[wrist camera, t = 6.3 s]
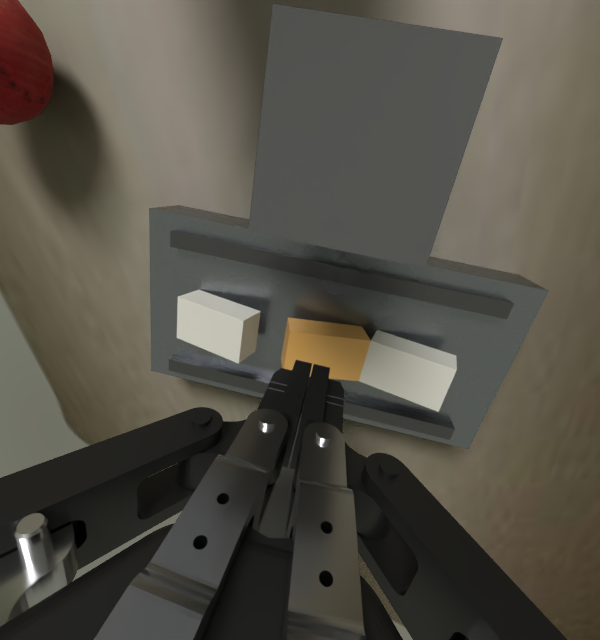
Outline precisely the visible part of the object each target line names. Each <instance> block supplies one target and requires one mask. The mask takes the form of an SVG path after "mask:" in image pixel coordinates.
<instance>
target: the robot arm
mask: <svg viewBox="0 0 600 640" xmlns="http://www.w3.org/2000/svg"><path fill="white" fill-rule="evenodd" d="M311 367H312V363H309V362H304V361H300V360H296V361H295V363H294V366H293V369H292V370H288V369H284V368H280V369H279V370H278V371H276V372H275V373H274V374H273V376H272V378H271V380H270V383H269V385H268V387H267V389H266V392H265V394H264V396H263V398H262V401H261V403H260V405H259V407H258V410H256V411H254V412H252V413H251V414H250V415H249V416H248V418H247V419H246V420H243V421H237V422H223V419H222V416H221V415H220V414H219V413H218V412H217V411H215V410H213V409H210V408H205V407H199V408H193V409H190V410H187V411H185V412H182V413H179V414H176V415H173V416H171V417H168V418H165V419H162V420H160V421H157V422H154V423H151V424H149V425H146V426H143V427H140V428H138V429H135V430H132V431H129V432H126V433H124V434H121V435H118V436H115V437H113V438H110V439H107V440H104V441H102V442H99V443H96V444H93V445H90V446H88V447H85V448H82V449H79V450H77V451H74V452H71V453H68V454H66V455H63V456H60V457H57V458H54V459H52V460H49V461H46V462H44V463H41V464H38V465H35V466H33V467H30V468H27V469H24V470H22V471H19V472H16V473H13V474H11V475H7V476H5V477H2V478H0V640H403V639H402V637H401V636H400V634H399V632H398V630H397V629H396V627H395V625H394V623H393V622H392V620H391V618H390V617H389V615H388V613H387V611H386V610H385V608H384V606H383V604H382V603H381V601H380V599H379V598H378V596H377V595H376V593H375V592H374V590H373V589H372V588H371V586H370V585H369V584H368V583H367V582H366V581H365V580H364V578H363V577H361V576H360V571H359V558H358V552H359V554H360V556H361V557H362V559H363V560H364V562H365V563H366V565H367V567H368V568H369V570H370V571H371V573H372V575H373V576H374V578H375V579H376V581H377V583H378V584H379V586H380V587H381V589H382V591H383V592H384V594H385V595H386V597H387V599H388V600H389V602H390V603H391V605H392V607H393V608H394V610H395V611H396V613H397V615H398V616H399V618H400V619H401V621H402V623H403V624H404V626H405V627H406V629H407V630H408V632H409V634H410V635H411V637H412V639H413V640H567V639H566V638H565V637H564V636H563V635H562V633H561V632H560V631H559V630H558V629H557V628H556V627H555V626H554V625H553V624H552V623H551V622H550V621H549V620H548V618H547V617H546V616H545V615H544V614H543V613H542V612H541V611H540V610H539V609H538V608H537V607H536V606H535V605H534V603H533V602H532V601H531V600H530V599H529V598H528V597H527V596H526V595H525V594H524V593H523V592H522V591H521V590H520V588H519V587H518V586H517V585H516V584H515V583H514V582H513V581H512V580H511V579H510V578H509V577H508V576H507V574H506V573H505V572H504V571H503V570H502V569H501V568H500V567H499V566H498V565H497V564H496V563H495V562H494V561H493V559H492V558H491V557H490V556H489V555H488V554H487V553H486V552H485V551H484V550H483V549H482V548H481V547H480V546H479V544H478V543H477V542H476V541H475V540H474V539H473V538H472V537H471V536H470V535H469V534H468V533H467V532H466V531H465V529H464V528H463V527H462V526H461V525H460V524H459V523H458V522H457V521H456V520H455V519H454V518H453V517H452V516H451V514H450V513H449V512H448V511H447V510H446V509H445V508H444V507H443V506H442V505H441V504H440V503H439V502H438V501H437V499H436V498H435V497H434V496H433V495H432V494H431V493H430V492H429V491H428V490H427V489H426V488H425V487H424V486H423V484H422V483H421V482H420V481H419V480H418V479H417V478H416V477H415V476H414V475H413V474H412V473H411V472H410V470H409V469H408V468H407V467H406V466H405V465H404V464H403V463H402V462H401V461H399V460H398V459H397V458H395V457H393V456H391V455H388V454H384V453H375V454H372V455H370V456H369V457H368V458H366V457H364V456H362V455H360V454H358V453H357V452H355V451H354V450H352V449H351V448H350V447H349V446H348V445H347V444H346V442H345V440H344V436H343V434H342V424H343V406H344V388H343V387H342V385H341V383H340V382H338V381H334V380H330V379H329V373H330V367H326V366H321V365H317V364H314V365H313V369H312V373H311V377H310V381H309V376H310V372H311ZM308 381H309V386H308V390H307V385H308ZM306 390H307V394H306ZM305 394H306V398H305ZM304 399H305V402H304ZM303 403H304V406H303ZM302 407H303V410H302ZM301 411H302V415H301ZM300 416H301V419H300ZM299 420H300V423H299ZM298 424H299V428H298ZM297 428H298V432H297ZM296 432H297V437H296V441H295V446H294V450H293V455H292V459H291V464H290V468H291V469H295V471H294V476H293V481H292V485H291V489H290V496H289V504H288V512H287V519H286V527H285V535H284V538H269V537H266V536H264V535H263V534H261V533H259V530H260V527H261V524H262V522H263V519H264V516H265V514H266V511H267V508H268V505H269V503H270V500H271V497H272V494H273V492H274V489H275V486H276V482H277V479H278V478H279V476H280V472H281V469H282V466H283V467H287V468H288V465H289V461H290V456H291V452H292V448H293V444H294V440H295V436H296ZM176 463H177V464H176ZM174 464H175V465H174ZM172 465H173V466H172ZM170 466H171V467H170ZM168 467H169V468H168ZM166 468H167V469H166ZM163 469H165V470H163ZM161 470H163V471H161ZM159 471H160V472H159ZM157 472H158V473H157ZM155 473H156V474H155ZM153 474H154V475H153ZM151 475H152V476H151ZM149 476H150V477H149ZM147 477H148V478H147ZM180 511H182V512H181V514H180V515H179V517H178V518H177V520H176V522H175V523H174V524H171V525H168V526H165V527H163V528H161V529H158V530H156V531H154V532H153V533H151V534H149V535H147V536H146V537H144V538H143V539H141V540H139V541H138V542H136V543H134V544H133V545H131V546H129V547H128V548H126V549H125V550H123V551H121V552H120V553H118V554H116V555H115V556H113V557H112V558H110V559H109V560H107V561H105V562H104V563H102V564H100V565H99V566H97V567H95V568H94V569H92V570H91V571H89V572H87V573H86V574H84V575H82V576H81V577H79V578H78V579H76V580H74V581H73V579H74V577H75V575H76V573H77V570H78V569H80V568H82V567H84V566H86V565H88V564H89V563H91V562H93V561H95V560H96V559H98V558H100V557H101V556H103V555H105V554H107V553H109V552H110V551H112V550H114V549H115V548H117V547H119V546H121V545H122V544H124V543H126V542H128V541H129V540H131V539H133V538H135V537H136V536H138V535H140V534H142V533H143V532H145V531H147V530H149V529H151V528H152V527H154V526H156V525H158V524H159V523H161V522H163V521H165V520H166V519H168V518H170V517H172V516H173V515H175V514H177V513H179V512H180ZM72 581H73V582H72Z"/></svg>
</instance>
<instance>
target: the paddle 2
mask: <svg viewBox="0 0 600 640" xmlns="http://www.w3.org/2000/svg"><path fill="white" fill-rule="evenodd" d="M456 370H457V361H456V355H453V354H450V353H447V352H444V351H440V350H437V349H434V348H431V347H428V346H425V345H422V344H419V343H416V342H413V341H410V340H407V339H404V338H401V337H398V336H395V335H392V334H389V333H386V332H383V331H380V330H377V331H376V333H375V334H374V336H373V338H372V339H371V342H370V345H369V348H368V352H367V355H366V359H365V362H364V365H363V369H362V372H361V375H360V379H359V381H360V382H362V383H365V384H367V385H370V386H373V387H375V388H378V389H380V390H383V391H385V392H388V393H391V394H393V395H396V396H398V397H401V398H404V399H406V400H409V401H411V402H414V403H417V404H419V405H422V406H424V407H427V408H430V409H432V410H435V411H437V412H439V410H440V407H441V405H442V403H443V400H444V398H445V396H446V394H447V391H448V389H449V387H450V384H451V382H452V380H453V377H454V375H455V373H456Z"/></svg>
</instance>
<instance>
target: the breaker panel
mask: <svg viewBox="0 0 600 640" xmlns="http://www.w3.org/2000/svg"><path fill="white" fill-rule="evenodd" d="M149 218H150V300H151V371H155V372H159V373H163V374H167V375H171V376H175V377H179V378H183V379H187V380H191V381H195V382H199V383H203V384H207V385H212V386H216V387H220V388H224V389H228V390H232V391H236V392H240V393H244V394H248V395H252V396H256V397H260V398H263V396H264V394H265V392H266V389H267V387H268V385H269V383H270V380H271V378H272V376H273V374H274V373H275V372H276V371H278V370H279V369H280V368H282V364H281V354H282V349H283V343H284V337H285V331H286V326H287V320H288V318H296V319H305V320H313V321H322V322H330V323H338V324H347V325H355V326H362V327H363V329H364V330H365V332H366V334H367V335H368V337H369V338H370V340H371V339H372V338H373V336H374V334H375V333H376V331H377V330H380V331H383V332H386V333H389V334H392V335H395V336H398V337H401V338H404V339H407V340H410V341H413V342H416V343H419V344H422V345H425V346H428V347H431V348H434V349H437V350H440V351H444V352H447V353H450V354H453V355H456V361H457V370H456V373H455V375H454V377H453V380H452V382H451V384H450V387H449V389H448V391H447V394H446V396H445V398H444V400H443V403H442V405H441V407H440V410H439V412H437V411H435V410H432V409H430V408H427V407H424V406H422V405H419V404H417V403H414V402H411V401H409V400H406V399H404V398H401V397H398V396H396V395H393V394H391V393H388V392H385V391H383V390H380V389H378V388H375V387H373V386H370V385H367V384H365V383H362V382H360V381H351V380H340V379H330V380H334V381H338V382H340V383H341V385H342V387H343V388H344V406H343V418H344V419H348V420H352V421H356V422H360V423H364V424H368V425H372V426H376V427H380V428H385V429H389V430H393V431H397V432H401V433H405V434H409V435H413V436H417V437H421V438H425V439H429V440H433V441H437V442H441V443H445V444H449V445H453V446H457V447H461V448H465V449H468V448H469V446H470V444H471V442H472V440H473V438H474V437H475V435H476V433H477V431H478V429H479V427H480V425H481V423H482V421H483V419H484V417H485V415H486V413H487V411H488V409H489V407H490V405H491V403H492V401H493V399H494V397H495V395H496V393H497V391H498V389H499V387H500V386H501V384H502V382H503V380H504V378H505V376H506V374H507V372H508V370H509V368H510V366H511V364H512V362H513V360H514V358H515V356H516V354H517V352H518V350H519V348H520V346H521V344H522V342H523V340H524V338H525V336H526V335H527V333H528V331H529V329H530V327H531V325H532V323H533V321H534V319H535V317H536V315H537V313H538V311H539V309H540V307H541V305H542V303H543V301H544V299H545V297H546V295H547V293H548V290H546V289H544V288H543V287H541V286H539V285H537V284H535V283H533V282H531V281H530V280H528V279H526V278H524V277H522V276H520V275H517V274H512V273H507V272H502V271H497V270H492V269H487V268H482V267H478V266H473V265H468V264H463V263H458V262H453V261H448V260H443V259H438V258H434V257H429V259H428V262H427V264H426V267H425V268H422V267H417V266H412V265H408V264H403V263H398V262H393V261H388V260H384V259H379V258H374V257H369V256H364V255H359V254H355V253H350V252H345V251H340V250H335V249H331V248H326V247H321V246H316V245H311V244H306V243H302V242H297V241H292V240H287V239H282V238H277V237H273V236H268V235H263V234H258V233H253V232H249V231H248V229H249V220H248V219H243V218H238V217H233V216H228V215H223V214H218V213H213V212H209V211H204V210H199V209H194V208H189V207H184V206H179V205H177V206H167V207H157V208H149ZM196 290H201V291H204V292H207V293H210V294H213V295H216V296H218V297H221V298H224V299H227V300H230V301H233V302H236V303H238V304H241V305H244V306H247V307H250V308H253V309H256V310H258V311H261V313H260V321H259V328H258V335H257V343H256V350H255V352H254V353H252V354H251V355H250V356H248V357H247V358H246V359H244V360H243V361H242V362H240V363H239V364H238V363H236V362H233V361H231V360H229V359H226V358H224V357H221V356H219V355H217V354H214V353H212V352H209V351H207V350H205V349H202V348H200V347H198V346H195V345H193V344H190V343H188V342H186V341H183V340H181V339H178V338H177V304H178V296H181V295H184V294H187V293H190V292H193V291H196ZM309 381H310V377H309ZM309 381H308V385H307V390H308V386H309ZM307 390H306V394H307ZM306 394H305V398H306ZM304 402H305V399H304ZM303 406H304V403H303ZM302 408H303V407H302Z"/></svg>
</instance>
